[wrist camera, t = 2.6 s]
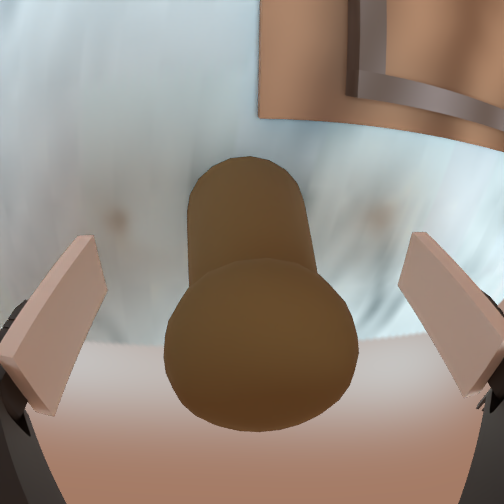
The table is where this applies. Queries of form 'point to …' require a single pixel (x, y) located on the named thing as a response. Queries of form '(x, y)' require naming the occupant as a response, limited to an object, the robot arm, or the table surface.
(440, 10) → the board
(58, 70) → the table surface
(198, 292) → the brown tall rounded piece
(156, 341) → the table surface
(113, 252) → the table surface
